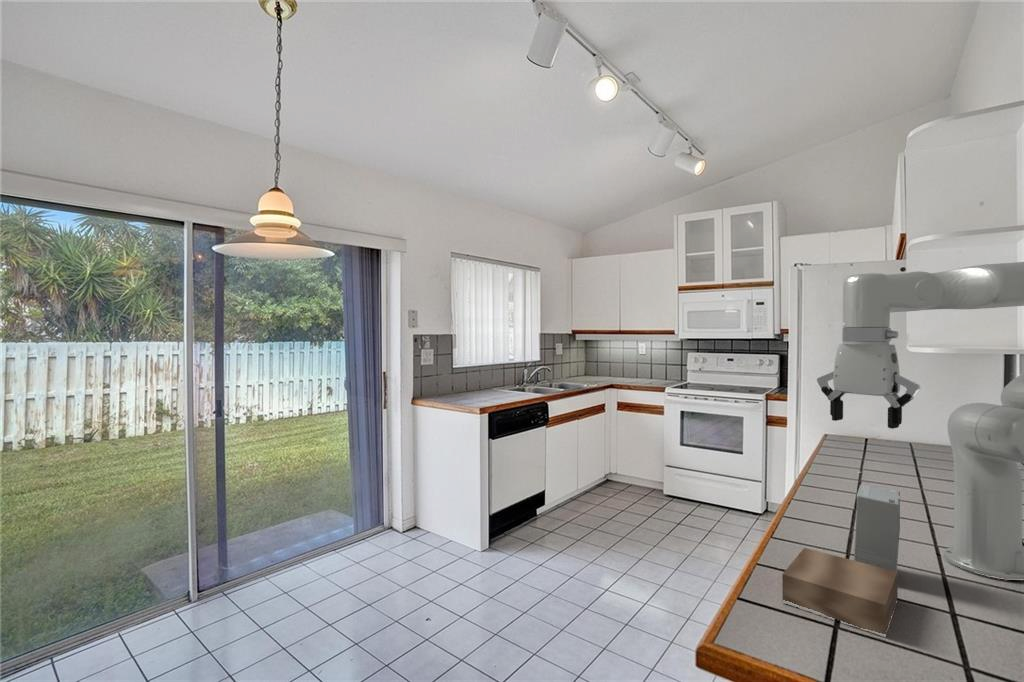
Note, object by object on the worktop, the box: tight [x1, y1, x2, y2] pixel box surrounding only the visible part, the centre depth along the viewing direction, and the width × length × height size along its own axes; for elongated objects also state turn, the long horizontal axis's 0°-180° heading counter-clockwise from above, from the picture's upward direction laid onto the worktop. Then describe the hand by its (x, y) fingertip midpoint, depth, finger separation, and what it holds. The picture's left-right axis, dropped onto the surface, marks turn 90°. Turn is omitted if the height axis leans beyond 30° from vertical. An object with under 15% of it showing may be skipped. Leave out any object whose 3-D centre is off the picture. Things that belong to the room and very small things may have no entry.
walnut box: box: [781, 547, 899, 634], centre depth 83 cm, size 14×14×5 cm
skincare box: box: [853, 483, 902, 572], centre depth 93 cm, size 8×7×16 cm
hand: (864, 423), depth 97 cm, fingers open, 9 cm apart
